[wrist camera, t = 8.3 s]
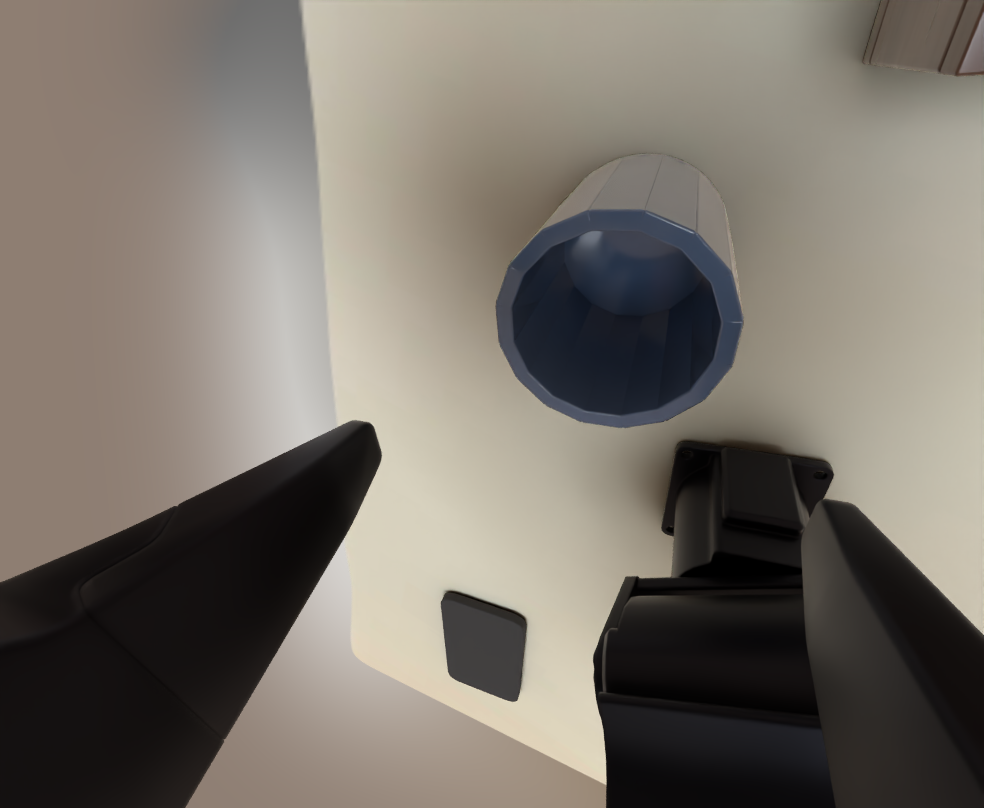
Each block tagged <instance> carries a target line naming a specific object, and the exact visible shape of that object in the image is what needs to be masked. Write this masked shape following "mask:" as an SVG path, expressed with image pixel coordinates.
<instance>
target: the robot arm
mask: <svg viewBox="0 0 984 808" xmlns="http://www.w3.org/2000/svg"><path fill="white" fill-rule="evenodd" d="M683 451H690V452H691V453H683ZM381 457H382V453H381V449H380V445H379V442H378V439H377V435H376V432H375V429H374V427H373V425H372V424H371V423H369V422H363V421H357V420H353V421H350V422H348V423H346V424H343V425H341V426H339V427H337V428H335V429H333V430H331V431H329V432H327V433H325V434H323V435H321V436H319V437H317V438H314V439H312V440H310V441H308V442H306V443H304V444H302V445H300V446H298V447H296V448H294V449H292V450H290V451H288V452H286V453H283V454H281V455H279V456H277V457H275V458H273V459H271V460H269V461H267V462H265V463H263V464H261V465H259V466H257V467H255V468H253V469H251V470H248V471H246V472H244V473H242V474H240V475H238V476H236V477H234V478H232V479H230V480H228V481H226V482H223V483H221V484H219V485H217V486H216V487H213V488H211V489H209V490H207V491H205V492H203V493H201V494H199V495H197V496H195V497H193V498H191V499H188V500H186V501H184V502H182V503H181V504H179V505H178V507H177V506H174V507H172V508H170V509H168V510H165V511H163V512H161V513H159V514H157V515H155V516H153V517H151V518H149V519H147V520H144V521H142V522H140V523H138V524H136V525H134V526H132V527H129V528H127V529H125V530H123V531H121V532H118V533H116V534H114V535H112V536H109V537H107V538H105V539H102V540H100V541H98V542H95V543H93V544H91V545H89V546H86V547H84V548H82V549H79V550H77V551H74V552H72V553H70V554H68V555H65V556H63V557H60V558H58V559H55V560H53V561H51V562H48V563H46V564H44V565H41V566H39V567H36V568H34V569H32V570H29V571H27V572H25V573H22V574H20V575H17V576H15V577H13V578H11V579H8V580H6V581H3V582H0V808H185V807H186V805H187V804H188V802H189V800H190V799H191V797H192V795H193V794H194V792H195V790H196V788H197V787H198V785H199V783H200V782H201V780H202V778H203V776H204V774H205V773H206V771H207V770H208V768H209V767H210V765H211V763H212V761H213V760H214V758H215V756H216V755H217V753H218V751H219V750H220V748H221V746H222V744H223V743H224V740H223V739H225V738H226V737H227V736H228V734H229V732H230V730H231V729H232V727H233V725H234V724H235V722H236V720H237V719H238V717H239V715H240V714H241V712H242V710H243V708H244V707H245V705H246V703H247V702H248V700H249V698H250V697H251V695H252V693H253V692H254V690H255V688H256V686H257V685H258V683H259V681H260V680H261V678H262V676H263V675H264V673H265V671H266V669H267V668H268V666H269V664H270V663H271V661H272V659H273V658H274V656H275V654H276V653H277V651H278V649H279V648H280V646H281V644H282V642H283V641H284V639H285V637H286V636H287V634H288V632H289V631H290V629H291V627H292V625H293V624H294V622H295V621H296V619H297V617H298V615H299V614H300V612H301V610H302V609H303V607H304V605H305V604H306V602H307V600H308V598H309V597H310V595H311V593H312V592H313V590H314V588H315V587H316V585H317V583H318V582H319V580H320V578H321V576H322V575H323V573H324V571H325V570H326V568H327V566H328V564H329V563H330V561H331V560H332V558H333V556H334V555H335V553H336V551H337V549H338V548H339V546H340V544H341V543H342V541H343V539H344V538H345V536H346V534H347V532H348V531H349V529H350V527H351V525H352V523H353V521H354V519H355V517H356V515H357V513H358V511H359V509H360V506H361V504H362V502H363V500H364V498H365V496H366V493H367V491H368V489H369V487H370V485H371V483H372V480H373V478H374V476H375V474H376V472H377V469H378V467H379V465H380V462H381ZM818 471H823V473H818V474H817V473H815V472H818ZM833 476H834V473H833V470H832V467H831V465H830V464H828V463H827V462H823V461H818V460H811V459H804V458H797V457H790V456H784V455H777V454H770V453H763V452H756V451H749V450H742V449H736V448H729V447H722V446H715V445H708V444H701V443H694V442H681V443H679V444H678V445H677V447H676V450H675V456H674V461H673V466H672V472H671V477H670V482H669V487H668V493H667V498H666V503H665V509H664V514H663V519H662V527H661V528H662V531H663V532H664V533H665V534H667V535H670V536H674V542H673V560H672V577H669V578H639V577H638V576H631V577H625V579H624V582H623V584H622V586H621V589H620V591H619V594H618V596H617V598H616V601H615V603H614V605H613V608H612V610H611V612H610V615H609V617H608V619H607V622H606V624H605V627H604V629H603V631H602V634H601V636H600V639H599V642H598V645H597V647H596V650H595V652H594V656H593V663H594V684H595V693H596V701H597V705H598V710H599V714H600V717H601V719H602V725H603V730H604V741H605V752H606V777H607V787H606V788H607V789H606V808H984V635H983V634H982V633H981V632H980V631H979V630H978V629H977V628H976V627H975V626H974V625H973V624H972V623H971V622H970V621H969V620H968V619H967V618H966V617H965V616H964V615H963V614H962V613H961V612H960V611H959V610H958V609H957V608H956V607H955V606H954V605H953V604H952V603H951V602H950V601H949V600H948V599H947V598H946V597H945V596H944V595H943V594H942V593H941V592H940V590H939V589H938V588H937V587H936V586H935V585H934V584H933V583H932V582H931V581H930V580H929V579H928V578H927V577H926V576H925V575H924V574H923V573H922V572H921V571H920V570H919V569H918V568H917V567H916V566H915V565H914V564H913V563H912V562H911V561H910V560H909V559H908V558H907V557H906V556H905V555H904V554H903V553H902V552H901V551H900V550H899V549H898V548H897V547H896V546H895V545H894V544H893V543H892V542H891V541H890V540H889V539H888V538H887V537H886V536H885V535H884V534H883V533H882V532H881V531H880V530H879V529H878V528H877V527H876V526H875V525H874V524H873V523H872V522H871V521H870V520H869V519H868V518H867V517H866V516H865V515H864V514H863V513H862V512H861V511H860V510H859V509H858V508H857V507H856V506H855V505H853V504H851V503H848V502H842V501H836V500H830V499H823V498H824V496H825V494H826V492H827V490H828V488H829V486H830V484H831V481H832V479H833ZM669 526H671V527H669Z"/></svg>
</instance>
